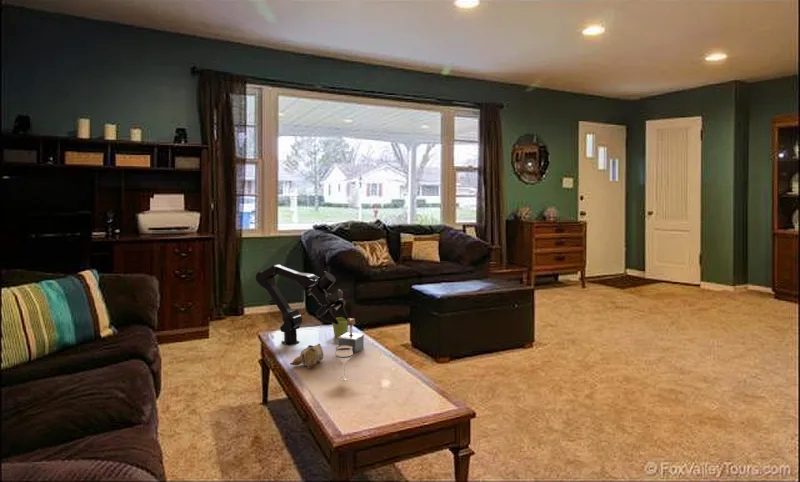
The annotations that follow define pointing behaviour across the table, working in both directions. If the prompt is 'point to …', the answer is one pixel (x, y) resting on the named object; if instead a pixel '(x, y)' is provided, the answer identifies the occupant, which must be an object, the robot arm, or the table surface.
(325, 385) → the table surface
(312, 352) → the ceramic sculpture
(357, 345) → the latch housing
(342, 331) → the plant pot
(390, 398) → the table surface
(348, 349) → the wineglass
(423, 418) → the table surface
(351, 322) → the bronze domed cylinder
